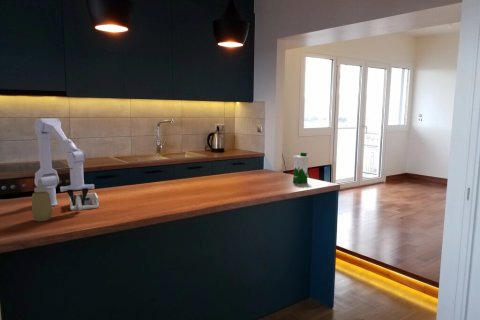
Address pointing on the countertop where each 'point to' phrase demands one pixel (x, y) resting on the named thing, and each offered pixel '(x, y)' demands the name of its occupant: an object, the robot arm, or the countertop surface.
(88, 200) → the inlet socket
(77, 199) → the steel plug
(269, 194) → the countertop surface
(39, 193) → the squeeze bottle
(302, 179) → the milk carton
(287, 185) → the countertop surface
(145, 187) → the countertop surface
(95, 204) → the walled box
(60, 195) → the countertop surface
